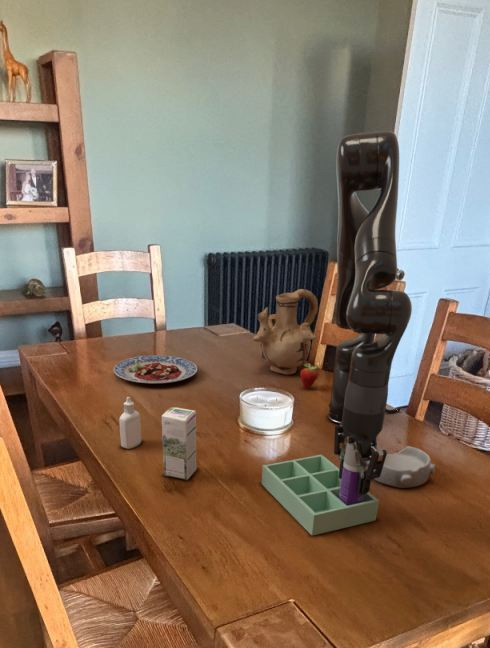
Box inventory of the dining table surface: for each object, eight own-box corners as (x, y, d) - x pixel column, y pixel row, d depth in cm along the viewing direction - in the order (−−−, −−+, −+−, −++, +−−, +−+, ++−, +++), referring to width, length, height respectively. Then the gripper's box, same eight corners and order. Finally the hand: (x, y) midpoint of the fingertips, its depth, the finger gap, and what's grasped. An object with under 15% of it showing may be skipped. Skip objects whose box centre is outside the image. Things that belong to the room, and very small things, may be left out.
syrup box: (197, 469, 138) (196, 409, 130) (186, 481, 133) (185, 419, 125) (174, 465, 139) (172, 405, 132) (163, 476, 134) (160, 415, 127)
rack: (319, 472, 138) (321, 454, 136) (375, 520, 122) (379, 500, 119) (261, 484, 133) (262, 465, 130) (311, 535, 116) (314, 515, 114)
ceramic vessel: (261, 359, 207) (265, 282, 194) (317, 364, 204) (325, 286, 191) (250, 376, 192) (253, 294, 179) (310, 383, 189) (318, 299, 176)
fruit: (319, 389, 184) (322, 364, 180) (306, 393, 181) (308, 366, 177) (308, 384, 187) (311, 359, 183) (295, 387, 185) (297, 361, 181)
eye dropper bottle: (146, 445, 147) (143, 398, 141) (124, 450, 145) (120, 402, 138) (138, 438, 150) (136, 392, 144) (117, 443, 148) (113, 396, 142)
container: (360, 518, 120) (371, 450, 113) (336, 515, 121) (345, 447, 113) (361, 506, 124) (371, 439, 116) (338, 503, 125) (347, 436, 117)
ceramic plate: (213, 372, 194) (213, 363, 193) (162, 396, 176) (162, 386, 174) (150, 356, 206) (150, 348, 204) (96, 377, 187) (95, 367, 185)
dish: (353, 467, 141) (356, 447, 139) (403, 457, 146) (406, 438, 143) (390, 496, 130) (394, 475, 127) (442, 485, 135) (447, 465, 132)
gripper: (406, 416, 107) (390, 499, 115) (359, 389, 118) (348, 466, 127) (370, 422, 104) (357, 507, 113) (326, 393, 115) (317, 472, 124)
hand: (353, 485), depth 120 cm, fingers open, 6 cm apart
